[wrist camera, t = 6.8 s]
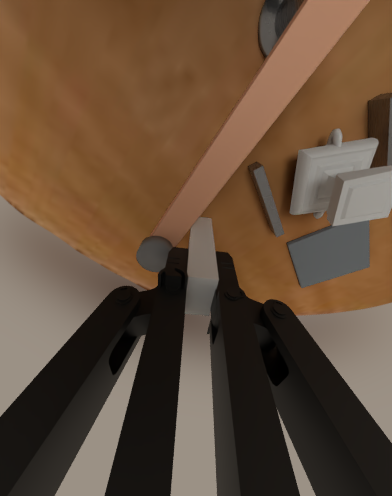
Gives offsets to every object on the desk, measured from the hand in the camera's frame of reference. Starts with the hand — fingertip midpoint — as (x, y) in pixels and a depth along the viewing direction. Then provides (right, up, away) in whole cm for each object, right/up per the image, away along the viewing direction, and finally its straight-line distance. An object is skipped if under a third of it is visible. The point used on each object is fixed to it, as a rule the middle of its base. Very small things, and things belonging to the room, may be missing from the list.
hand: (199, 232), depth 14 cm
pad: (+20, -2, +13) cm, 24 cm away
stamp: (+13, +7, +7) cm, 17 cm away
